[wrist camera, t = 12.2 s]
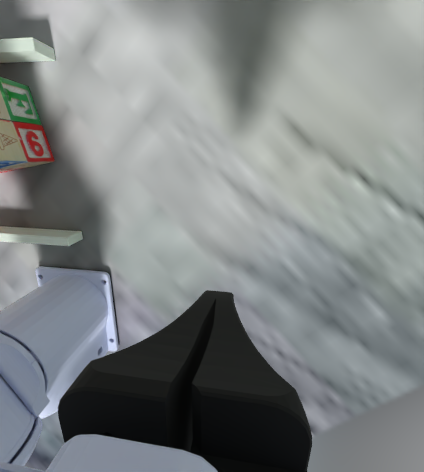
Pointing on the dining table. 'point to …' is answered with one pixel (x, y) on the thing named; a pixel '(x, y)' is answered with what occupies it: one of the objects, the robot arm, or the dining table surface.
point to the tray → (7, 54)
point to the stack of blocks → (20, 129)
